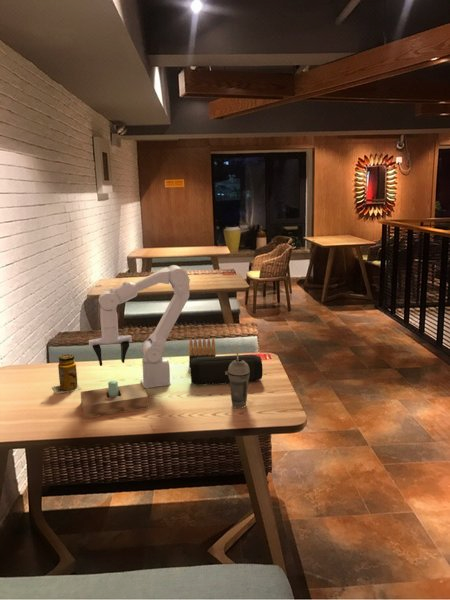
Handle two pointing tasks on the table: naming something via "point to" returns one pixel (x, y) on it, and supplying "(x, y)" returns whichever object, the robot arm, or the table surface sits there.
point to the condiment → (67, 375)
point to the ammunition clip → (201, 349)
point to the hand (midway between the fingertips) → (112, 363)
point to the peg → (113, 388)
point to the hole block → (113, 400)
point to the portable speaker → (222, 368)
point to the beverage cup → (238, 381)
